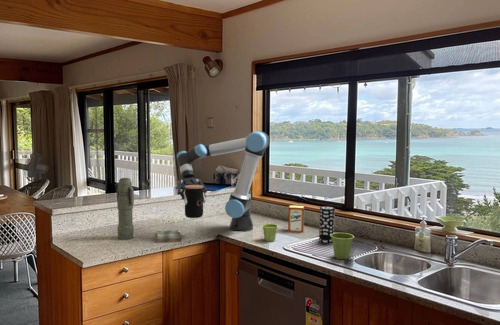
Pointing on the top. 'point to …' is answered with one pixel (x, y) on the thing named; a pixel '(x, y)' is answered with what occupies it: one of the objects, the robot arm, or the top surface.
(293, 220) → the baking soda box
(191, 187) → the coffee jar
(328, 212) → the spotted tube
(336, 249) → the plant pot
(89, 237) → the top surface
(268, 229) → the plant pot
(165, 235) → the plinth
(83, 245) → the top surface
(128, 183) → the thermos
